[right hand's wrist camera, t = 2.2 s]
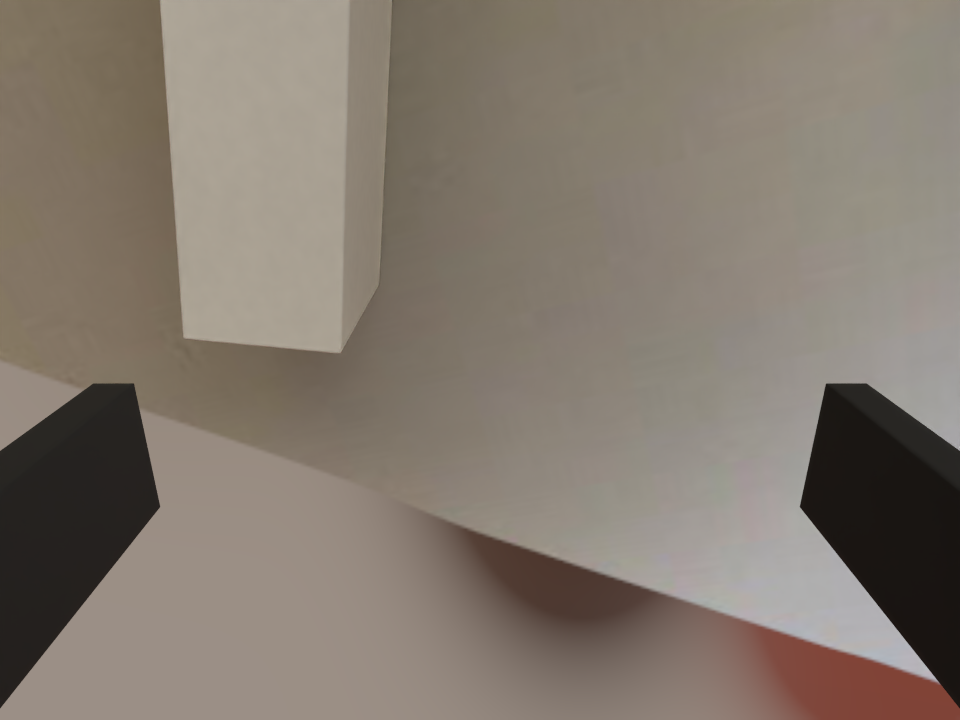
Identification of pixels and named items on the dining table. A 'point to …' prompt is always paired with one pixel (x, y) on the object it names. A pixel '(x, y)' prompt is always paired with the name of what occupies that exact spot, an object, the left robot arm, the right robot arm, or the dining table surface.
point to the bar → (277, 165)
